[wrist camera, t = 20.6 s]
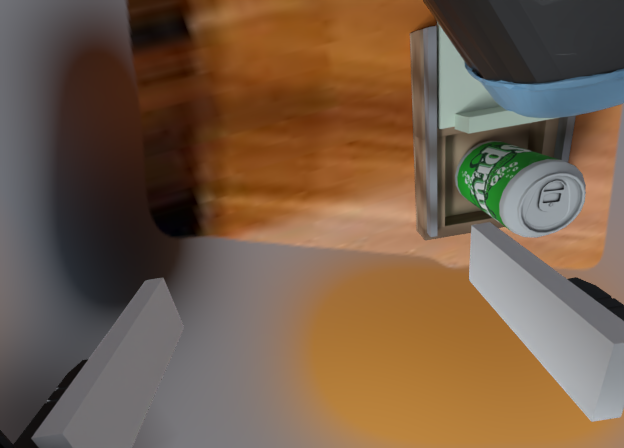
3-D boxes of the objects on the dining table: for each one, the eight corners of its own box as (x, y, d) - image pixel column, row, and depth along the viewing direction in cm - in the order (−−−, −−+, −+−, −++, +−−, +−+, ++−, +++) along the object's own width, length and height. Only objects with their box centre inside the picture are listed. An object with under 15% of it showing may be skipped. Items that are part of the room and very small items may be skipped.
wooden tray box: (409, 33, 34) (424, 28, 30) (564, 5, 34) (598, -4, 30) (416, 230, 43) (428, 244, 40) (536, 209, 43) (560, 222, 39)
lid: (436, 0, 30) (455, -9, 27) (578, -26, 30) (615, -39, 26) (437, 130, 35) (453, 136, 31) (559, 108, 35) (588, 112, 31)
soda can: (516, 135, 38) (605, 158, 27) (507, 195, 42) (583, 238, 31) (453, 142, 38) (517, 168, 27) (448, 202, 41) (503, 246, 31)
